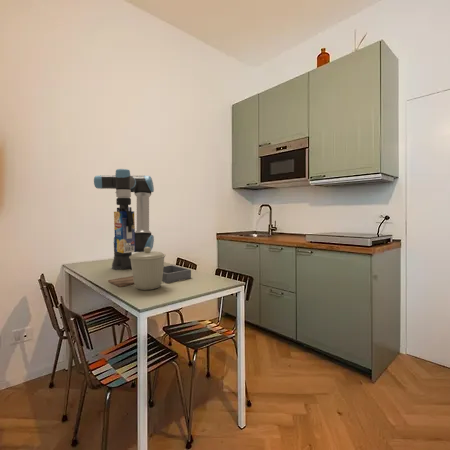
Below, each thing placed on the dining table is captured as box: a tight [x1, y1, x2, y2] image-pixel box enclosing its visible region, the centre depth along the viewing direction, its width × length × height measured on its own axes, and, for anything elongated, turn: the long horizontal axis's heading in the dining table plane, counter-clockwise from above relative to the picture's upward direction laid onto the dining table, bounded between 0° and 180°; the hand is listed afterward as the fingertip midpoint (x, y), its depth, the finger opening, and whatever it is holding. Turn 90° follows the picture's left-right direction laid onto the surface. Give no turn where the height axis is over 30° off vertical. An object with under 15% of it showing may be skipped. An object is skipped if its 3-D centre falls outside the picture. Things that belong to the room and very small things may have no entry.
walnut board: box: [107, 275, 135, 288], centre depth 161 cm, size 16×14×1 cm
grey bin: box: [162, 264, 192, 284], centre depth 171 cm, size 20×16×5 cm
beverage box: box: [113, 210, 136, 253], centre depth 160 cm, size 7×11×22 cm, turn 42°
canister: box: [129, 247, 167, 291], centre depth 149 cm, size 18×18×21 cm
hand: (124, 237), depth 160 cm, fingers closed on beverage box, 11 cm apart
